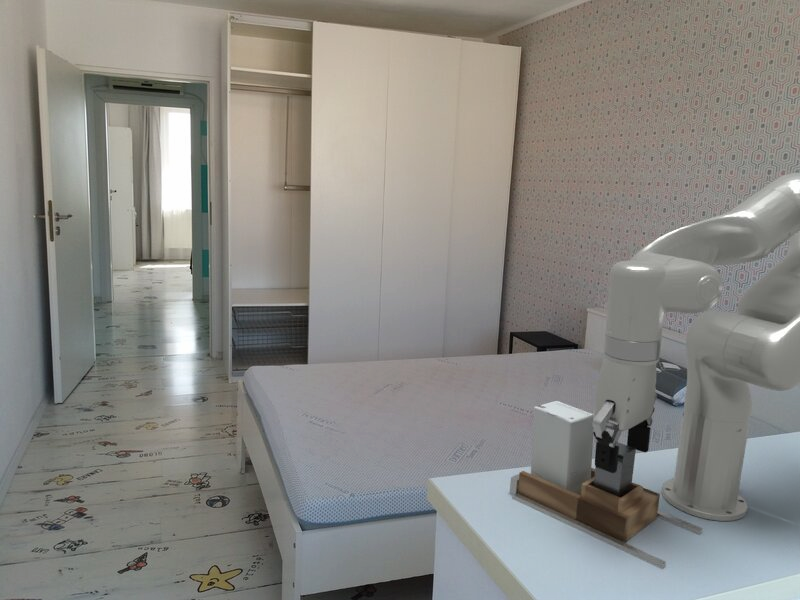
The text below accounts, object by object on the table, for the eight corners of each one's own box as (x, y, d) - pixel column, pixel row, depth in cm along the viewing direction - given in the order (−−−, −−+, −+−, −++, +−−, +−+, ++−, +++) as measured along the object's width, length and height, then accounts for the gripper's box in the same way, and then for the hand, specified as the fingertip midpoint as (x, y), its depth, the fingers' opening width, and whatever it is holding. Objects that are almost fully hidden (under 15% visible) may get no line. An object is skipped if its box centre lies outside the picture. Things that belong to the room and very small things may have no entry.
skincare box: (589, 502, 102) (599, 415, 99) (563, 511, 99) (573, 421, 96) (551, 480, 109) (559, 398, 106) (525, 488, 106) (533, 404, 103)
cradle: (554, 475, 111) (557, 443, 109) (656, 518, 98) (661, 482, 97) (517, 495, 103) (520, 460, 102) (622, 544, 90) (627, 505, 89)
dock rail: (552, 471, 112) (554, 455, 112) (702, 533, 95) (704, 514, 94) (506, 496, 103) (507, 479, 102) (662, 570, 85) (664, 549, 84)
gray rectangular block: (629, 498, 95) (635, 448, 94) (617, 507, 93) (623, 455, 91) (605, 488, 98) (610, 439, 97) (592, 496, 95) (597, 446, 94)
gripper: (635, 332, 99) (626, 435, 103) (576, 354, 87) (568, 468, 91) (683, 342, 94) (672, 449, 97) (627, 366, 82) (617, 488, 86)
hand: (622, 459), depth 94 cm, fingers open, 9 cm apart
